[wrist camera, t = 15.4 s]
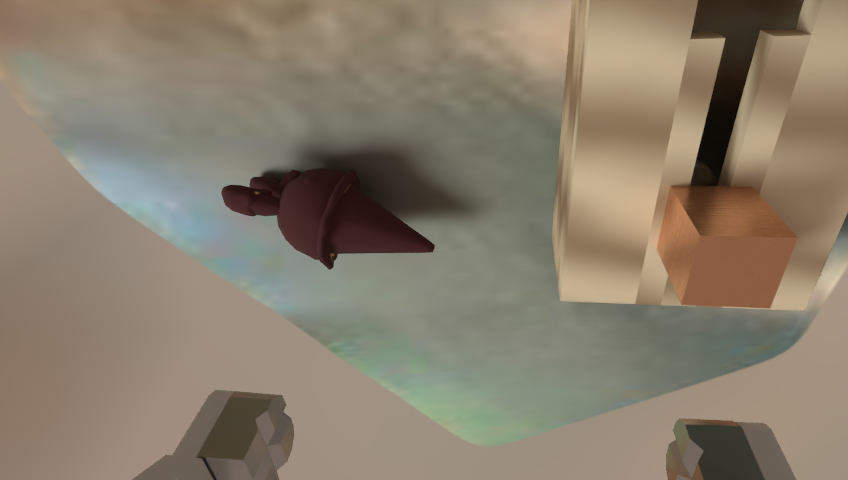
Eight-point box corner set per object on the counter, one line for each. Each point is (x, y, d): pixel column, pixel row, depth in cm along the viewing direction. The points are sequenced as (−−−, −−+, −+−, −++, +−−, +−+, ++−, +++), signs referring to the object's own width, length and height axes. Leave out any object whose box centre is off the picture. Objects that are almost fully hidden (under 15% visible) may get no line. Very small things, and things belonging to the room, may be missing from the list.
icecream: (442, 212, 31) (217, 141, 32) (411, 315, 33) (203, 246, 34) (454, 190, 38) (267, 131, 39) (427, 277, 40) (252, 220, 41)
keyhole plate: (586, -167, 25) (612, -194, 19) (902, -197, 23) (1046, -238, 17) (551, 237, 38) (560, 300, 32) (753, 242, 36) (804, 310, 30)
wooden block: (652, 156, 30) (700, 235, 23) (724, 156, 30) (798, 237, 22) (641, 214, 32) (681, 304, 25) (708, 215, 32) (770, 308, 24)
